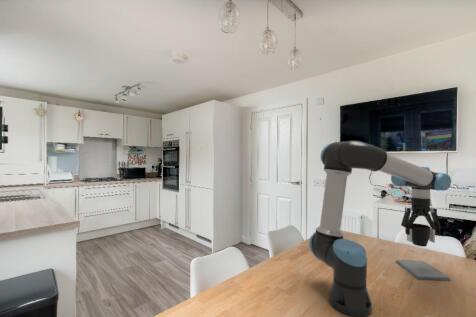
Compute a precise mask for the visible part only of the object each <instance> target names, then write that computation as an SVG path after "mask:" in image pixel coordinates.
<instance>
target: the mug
mask: <svg viewBox="0 0 476 317" xmlns="http://www.w3.org/2000/svg"><path fill="white" fill-rule="evenodd" d="M430 228H431V226H430V225H428V224H422V223H416V222H414V223H413V224H412V226H411V229H412V242H411V243H412V244H413V246H419V247H424V248H425V247H427V246H428V242H430V241H429V237H430Z"/></svg>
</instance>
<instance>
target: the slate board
mask: <svg viewBox="0 0 476 317" xmlns="http://www.w3.org/2000/svg"><path fill="white" fill-rule="evenodd" d="M395 263H396V265H397V264H398V265H399V266H400V267H401V268H402V269H404V270H405V271H406V272H407V273H409V274H410V275H411V276H413V277H414V278H415V279H416V280H418V281H419V280H421V281H422V280H425V281H441V282H442V281H446V282H450V281H451V277H450V276H447V275H446V274H445V273H443V272H441V271H440V270H438V269H436V268H435V267H434V266H432V265H430V264H429V263H427V262H425V261H423V260H401V259H395Z"/></svg>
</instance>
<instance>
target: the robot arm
mask: <svg viewBox="0 0 476 317" xmlns="http://www.w3.org/2000/svg"><path fill="white" fill-rule="evenodd" d="M320 161H321V162H322V165H323V171H324V172H325V173H326V176H325V185H324V193H323V201H322V207H321V215H320V222H319V225H318V227H316V228H315V232H313V233H312V234H311V236H310V238H309V242H308V245H309V246H308V247H309V250H310V252H311V253H312V255H313V256H315V257H316V259H318V260H319V261H321V262H323V263H324V264H325V265H327V266H328V267H330V268H331V269H332V270H333V273H332V275H333V278H332V279H333V280H332V281H333V282H332V284H331V287H330V288H329V293H328V302H329V304H330V306H331V307H332V308H334V309H335V310H336V311H338V312H340V313H342V314H344V315H347V316H350V317H367V316H370V315H371V314H372V312H373V304H372V300H371V297H370V294H369V291H368V289H367V278H368V275H367V268H368V266H367V264H368V258H367V251H366V249H365V247H364V246H363V245H362V244H360V243H358V242H356V241H354V240H350V239H347V238H344V233H343V232H342V231H341V228H342V227H341V226H342V220H343V212H344V205H345V203H344V202H345V198H346V188H347V179H348V177H349V176H350V175H351V174H352V172H353V171H352V170H353V169H358V170H359V169H360V170H367V171H371V172H382V173H385V174H387V175H390V181H391V183H392V184H393V186H396V187H401V188H402V187H409V188H411V189H410V190H411V191H410V192H411V193H410V194H411V198H410V201H411V207H407V206H406V207H404V215H403V217H402V221H401V225H400V226H401V227H404V228H405V229H404V230H405V235H406V241H408V242H409V243H412V229H411V226H412V224H413V223H415V221H416V220H417V218H419V217H424V218H425V220H426V222H427V223H428V224H429V225H428V226H429V227H430V237H429V241H428V242H431V243H433V244H435V243H436V236H437V231H438V230H439V229H441V227H442V226H441V222H440V220H439V215H438V209H437V208H435V207H430V206H431V199H430V198H431V190H433V191H447V190H449V189H450V188H451V184H452V178H451V176H450V175H449V174H448V173H445V172H444V173H443V172H435V171H432V170H431V169H430V167H428V166H419V165H416V164H413V163H411V162H408V161H406V160H403V159H401V158H399V157H396V156H393V155H391V154H388V153H387V151H386V150H385V149H383V148H380V147H378V146H375V145H373V144H370V143H367V142H363V141H360V140H348V141H335V142H331V143H328V144H326V145H325V146H324V147H323V148H322V150H321V153H320Z"/></svg>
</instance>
